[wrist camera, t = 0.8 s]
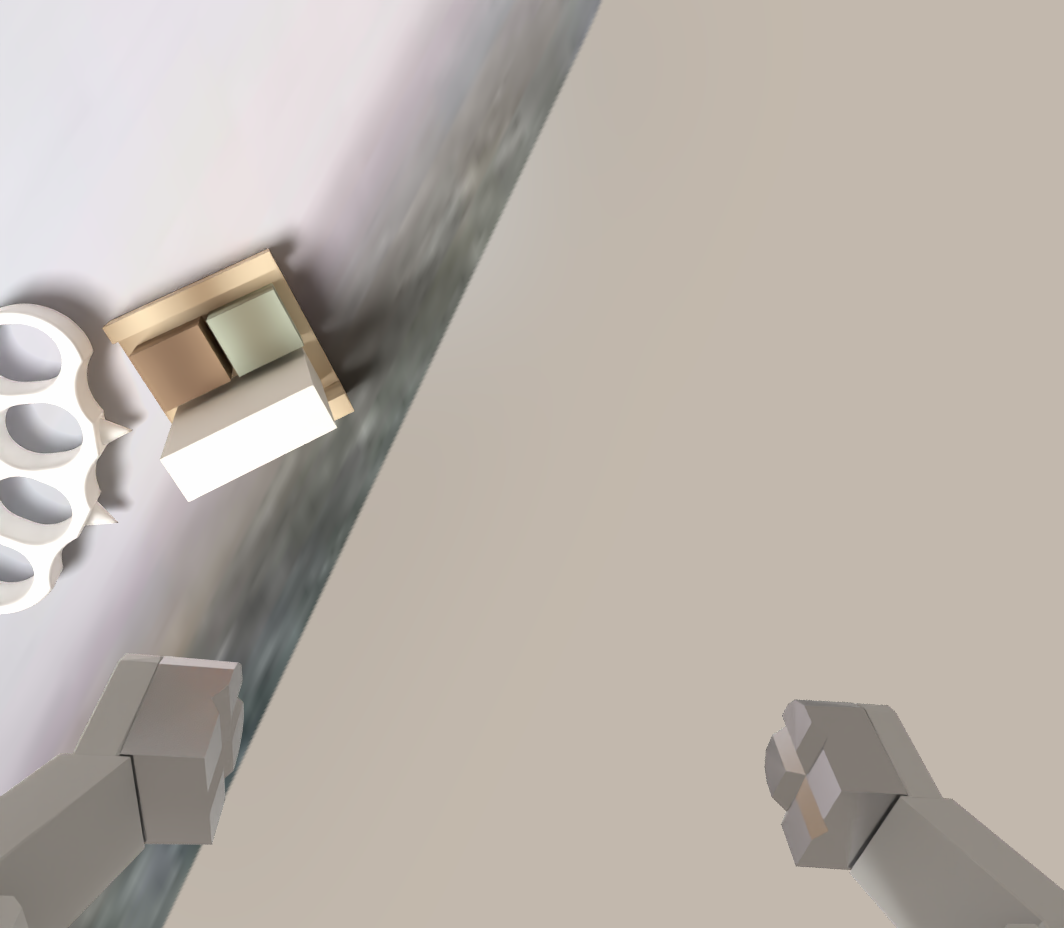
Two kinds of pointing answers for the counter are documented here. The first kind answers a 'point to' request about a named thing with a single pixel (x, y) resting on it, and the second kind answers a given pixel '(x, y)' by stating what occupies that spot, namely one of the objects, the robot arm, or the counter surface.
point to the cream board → (246, 424)
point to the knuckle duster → (52, 456)
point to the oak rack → (214, 295)
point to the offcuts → (216, 347)
